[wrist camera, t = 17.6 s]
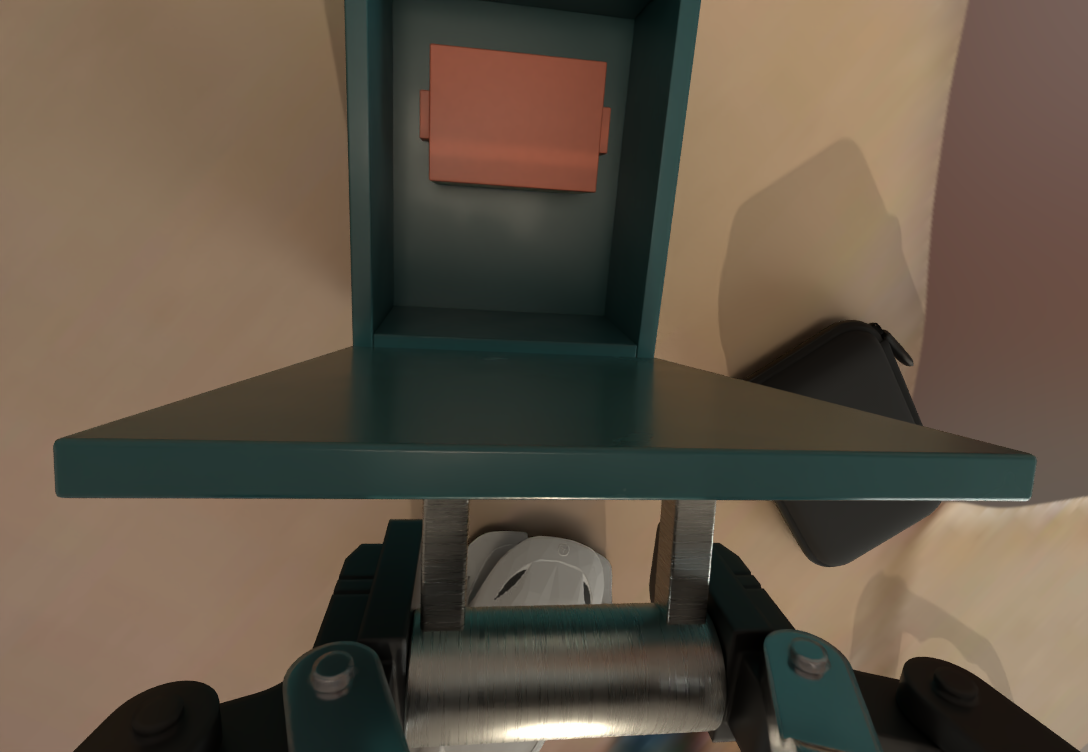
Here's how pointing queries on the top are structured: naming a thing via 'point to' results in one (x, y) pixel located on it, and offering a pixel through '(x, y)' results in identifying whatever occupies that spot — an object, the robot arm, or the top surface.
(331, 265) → the top surface
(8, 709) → the top surface
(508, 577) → the car model
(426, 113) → the snack box
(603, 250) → the lunch tin
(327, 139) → the top surface
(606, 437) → the tin lid
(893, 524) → the carrying case
